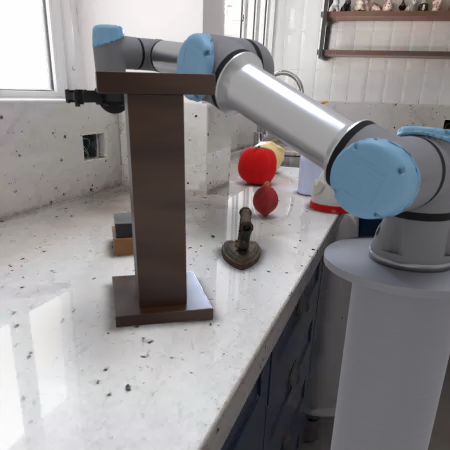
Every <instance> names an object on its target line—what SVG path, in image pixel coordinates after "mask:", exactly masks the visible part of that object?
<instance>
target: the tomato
mask: <svg viewBox="0 0 450 450" xmlns="http://www.w3.org/2000/svg"><path fill="white" fill-rule="evenodd" d="M254 146H255V147H254ZM254 146H251V147H250V146H248V147H246V148H245V149H243V151H242V152H241V154H240V156H239V159H238V164H237V172H238V175H239V177H240V179H242V181H244V182H246V183H248V184H252V185H253V184H254V185H261V186H262V185H263V184H264V183H265V182H267V181H269V182H270V183H271V182H272V181H273V179H274V178H275V176H276V172H277V171H276V168H277V159H276V155H275V152H274V151H273V150H272V149H269V148H266V147H260V145H258V147H256V145H254Z"/></svg>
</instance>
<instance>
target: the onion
mask: <svg viewBox="0 0 450 450" xmlns="http://www.w3.org/2000/svg"><path fill="white" fill-rule="evenodd" d="M278 195H279V194H278V192H277V191H276V190H275V189H274V188H273V187H272V186H271V182H269V181H267V182H265V183H264V184H263V185H261V186H260V187H258V189H256V191H255V192H254V194H253V196H252V205H253V207H254V209H255V210H256V212H257V213H259V214H261V216H262V217H268V216H269V215H270V214H271V213H273V212H274V211H275V210H276V209H277V207H278V205H279V202H280V201H279V196H278Z"/></svg>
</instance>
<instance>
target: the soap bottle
mask: <svg viewBox="0 0 450 450" xmlns="http://www.w3.org/2000/svg"><path fill="white" fill-rule="evenodd" d="M320 103H321V104H323V105H325V104H328V103H329V101H328V100H326V101H322V102H320ZM298 167H299V168H298V181H297V193H299V194H300V195H303V196H310V197H311V195H312V192H313V184H314V180H315V179H318V177H319V176H320V174H321V173H322V171H323V169H321V168H320V167H318V166H317V165H315V164H314V163H312V162H311V161H310V160H308V159H307V158H305V157H304V156H302V155H301V154H300V157H299V166H298Z"/></svg>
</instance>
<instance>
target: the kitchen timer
mask: <svg viewBox="0 0 450 450" xmlns="http://www.w3.org/2000/svg"><path fill="white" fill-rule="evenodd" d="M334 194H335V193H334V190H333V189H332V188H331V186H329V185H328V184H327V183H326V182H325V179H324V170H323V171H322V173H321V174H320V176H319V177H318V179H315V180H314V184H313V192H312V195H311V196H310V201H309V207H310V208H311V209H312V210H315V211H318V212H322V213H328V214H338V215H339V214H341V215H349V214H350V213H348V212H347V211H345V210H344V209H343V208H342V207H341V206H340V205H339V204H338V202H337V201H336V199H335V197H334ZM350 215H351V214H350Z"/></svg>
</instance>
